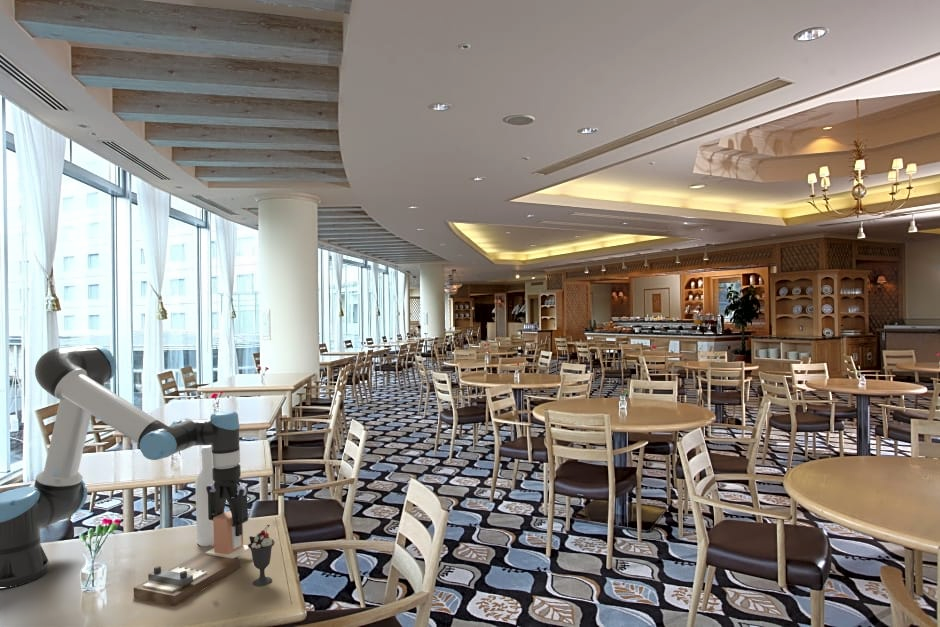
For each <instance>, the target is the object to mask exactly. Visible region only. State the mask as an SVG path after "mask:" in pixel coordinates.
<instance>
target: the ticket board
mask: <svg viewBox="0 0 940 627" xmlns="http://www.w3.org/2000/svg"><path fill="white" fill-rule="evenodd" d="M241 564H242V562H241V558H237V557H235V558H233V559H232V558H226V557H219V556H213V555H207V554H206V552H201V553H198V554H197V555H195V556H194V557H191V558H189V559H187V560H186V561H185V560H184V561H183V562H182V563H180V564H178V565H175V566H174V567H171V568H170V569H168V570H166V569H162V566H161V565H159V566H155V567H154V568H153V571H151V572H149V573H148V574H147V576H148V580H146V581H143V582H142V583H140V584H138V585H136V586H134V587H133V598H134V599H138V600H139V599H140V600H144V601H149V602H154V603H159V604H163V605H167V606H168V605H169V606H173V607H176V606H177V605H180V604H181V603H183V602H185V601H187V600H188V599H190V598H191V596H192V597H193V596H195V595H197V594H199V593H200V592H202V591H204V590H205V589H207V588H209V587H211V586H212V585H213V583H214V584H215V582H216V583H217V582H218V581H221V580H222V579H225V577H227V576H229V575H231V574H232V573H235V572H236V571H238V570H240V569H241V568H242V567H241V566H242V565H241ZM220 579H221V580H220ZM208 586H209V587H208ZM206 587H207V588H206ZM204 588H205V589H204ZM203 589H204V590H203ZM201 590H202V591H201ZM198 592H199V593H198ZM196 593H197V594H196ZM194 594H195V595H194ZM189 597H190V598H189ZM186 599H187V600H186ZM184 600H185V601H184ZM179 603H180V604H179Z"/></svg>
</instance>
